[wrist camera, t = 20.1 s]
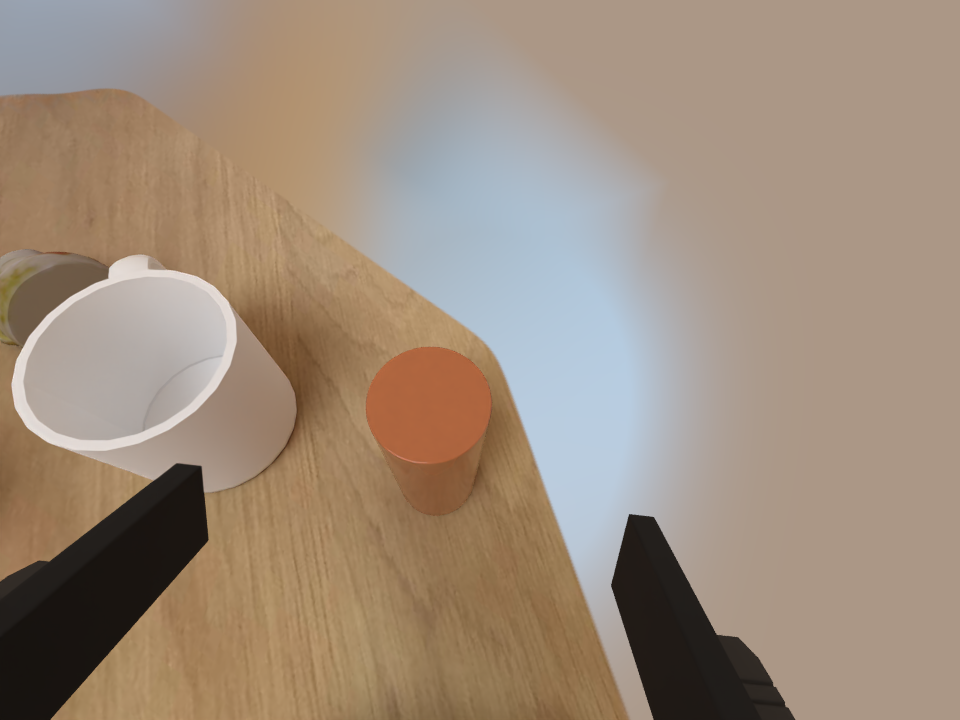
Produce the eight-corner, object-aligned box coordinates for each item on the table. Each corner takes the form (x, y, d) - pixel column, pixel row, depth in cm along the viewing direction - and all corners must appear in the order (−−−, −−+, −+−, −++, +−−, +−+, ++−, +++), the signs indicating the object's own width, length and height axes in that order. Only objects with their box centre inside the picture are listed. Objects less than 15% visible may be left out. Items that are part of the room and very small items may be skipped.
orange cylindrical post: (487, 462, 31) (513, 380, 18) (450, 530, 29) (452, 488, 16) (425, 428, 32) (409, 327, 19) (385, 491, 30) (339, 424, 17)
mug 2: (313, 459, 30) (254, 405, 21) (152, 518, 28) (8, 486, 19) (274, 312, 35) (213, 216, 26) (136, 352, 33) (15, 263, 24)
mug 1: (72, 253, 37) (46, 180, 29) (157, 346, 38) (154, 300, 30) (-44, 296, 32) (-112, 224, 24) (57, 399, 34) (23, 362, 26)
